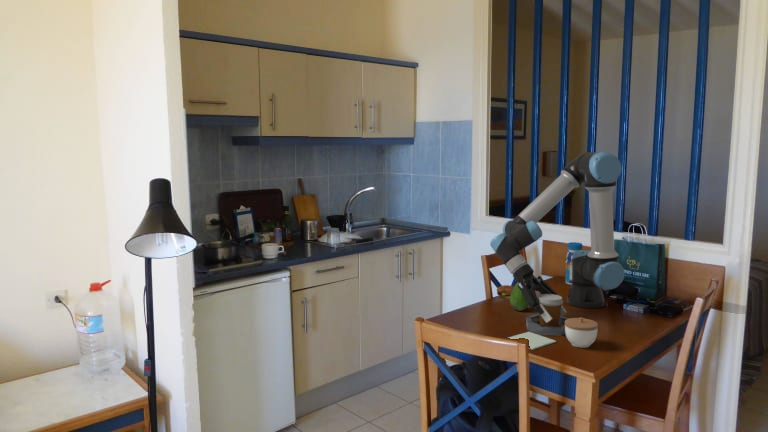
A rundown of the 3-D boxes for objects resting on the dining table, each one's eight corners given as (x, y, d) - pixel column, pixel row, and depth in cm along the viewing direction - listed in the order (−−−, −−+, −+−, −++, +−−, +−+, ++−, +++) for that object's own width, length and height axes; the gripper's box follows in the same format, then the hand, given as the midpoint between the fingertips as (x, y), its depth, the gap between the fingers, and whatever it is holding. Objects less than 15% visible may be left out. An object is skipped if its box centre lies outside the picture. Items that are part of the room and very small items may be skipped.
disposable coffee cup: (563, 333, 200) (564, 300, 198) (536, 331, 202) (537, 299, 200) (561, 325, 209) (561, 294, 208) (534, 323, 211) (535, 293, 209)
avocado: (520, 314, 223) (521, 285, 221) (506, 309, 229) (506, 281, 228) (533, 310, 228) (534, 282, 226) (518, 306, 234) (519, 278, 232)
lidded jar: (589, 338, 194) (590, 312, 193) (602, 349, 183) (603, 322, 182) (559, 339, 193) (560, 313, 192) (570, 350, 183) (571, 323, 182)
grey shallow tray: (545, 319, 216) (545, 311, 216) (581, 329, 203) (581, 321, 203) (517, 326, 207) (517, 319, 207) (552, 338, 194) (552, 330, 194)
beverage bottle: (570, 280, 278) (572, 241, 276) (586, 283, 272) (587, 243, 269) (561, 283, 273) (562, 243, 270) (577, 286, 266) (578, 245, 264)
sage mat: (528, 332, 200) (528, 331, 200) (556, 342, 191) (556, 340, 191) (505, 339, 194) (505, 338, 194) (532, 349, 184) (532, 348, 184)
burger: (516, 293, 255) (516, 283, 254) (520, 299, 245) (521, 289, 245) (494, 294, 255) (494, 284, 254) (498, 299, 246) (498, 289, 245)
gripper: (529, 270, 222) (564, 316, 213) (497, 279, 206) (534, 330, 197) (541, 258, 217) (578, 305, 208) (509, 268, 202) (548, 318, 192)
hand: (556, 317), depth 203 cm, fingers open, 10 cm apart
